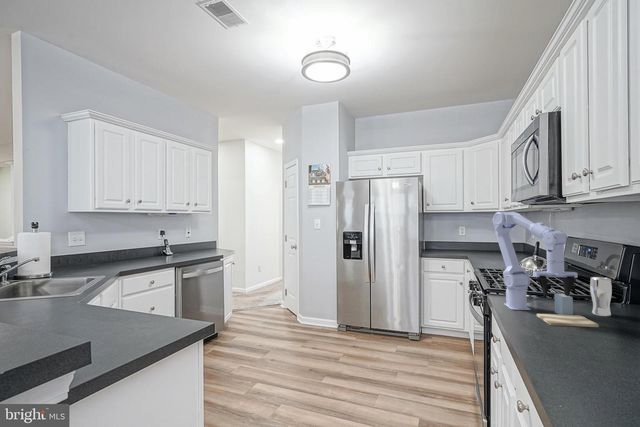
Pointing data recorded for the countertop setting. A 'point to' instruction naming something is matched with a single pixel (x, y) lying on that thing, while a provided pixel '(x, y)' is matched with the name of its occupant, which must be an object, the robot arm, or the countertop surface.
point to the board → (567, 320)
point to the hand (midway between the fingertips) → (556, 295)
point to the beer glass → (601, 295)
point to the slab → (563, 304)
